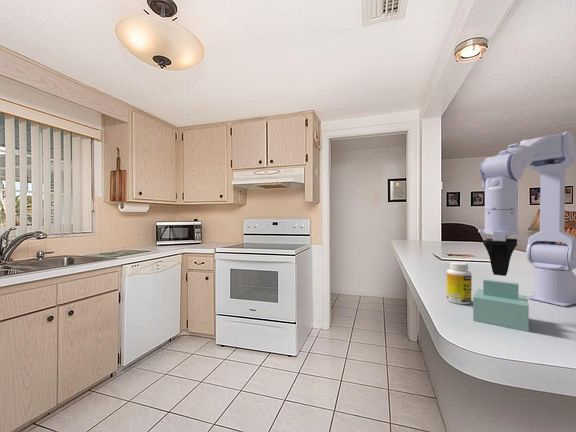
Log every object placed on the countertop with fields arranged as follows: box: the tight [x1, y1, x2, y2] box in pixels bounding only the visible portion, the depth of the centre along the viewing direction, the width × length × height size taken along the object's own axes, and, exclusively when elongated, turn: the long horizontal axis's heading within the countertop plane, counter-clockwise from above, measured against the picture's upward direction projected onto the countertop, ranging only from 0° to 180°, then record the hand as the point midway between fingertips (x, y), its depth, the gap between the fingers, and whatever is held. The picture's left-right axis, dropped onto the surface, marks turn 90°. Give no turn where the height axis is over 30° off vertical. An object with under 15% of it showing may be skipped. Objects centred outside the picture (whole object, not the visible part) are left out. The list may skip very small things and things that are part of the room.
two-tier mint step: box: [472, 279, 530, 332], centre depth 60 cm, size 9×9×8 cm
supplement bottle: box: [446, 261, 473, 305], centre depth 73 cm, size 6×6×10 cm
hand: (500, 272), depth 60 cm, fingers open, 7 cm apart
